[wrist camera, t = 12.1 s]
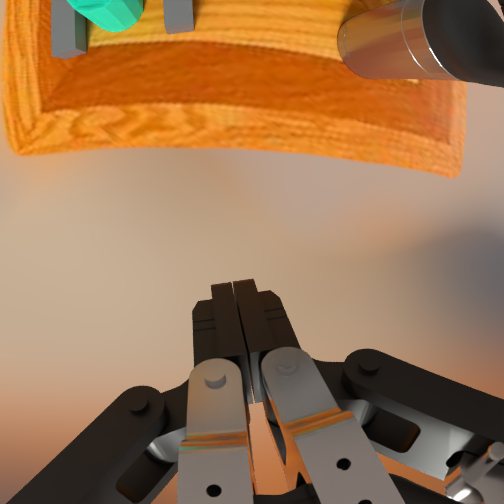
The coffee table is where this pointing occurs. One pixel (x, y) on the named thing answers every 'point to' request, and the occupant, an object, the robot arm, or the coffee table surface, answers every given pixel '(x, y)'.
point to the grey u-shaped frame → (74, 25)
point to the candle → (110, 12)
